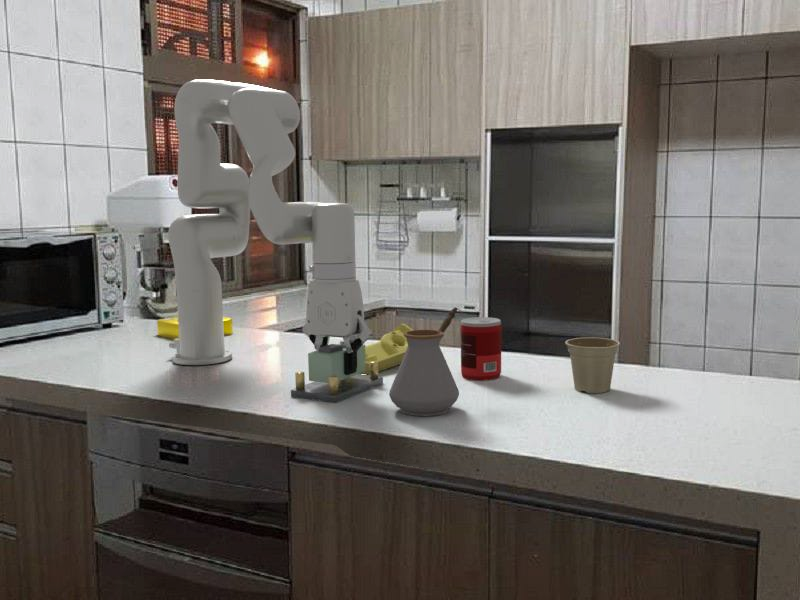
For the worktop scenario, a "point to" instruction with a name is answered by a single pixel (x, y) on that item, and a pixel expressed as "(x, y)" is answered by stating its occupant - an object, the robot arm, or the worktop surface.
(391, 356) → the plastic component
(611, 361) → the flower pot
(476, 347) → the canned food
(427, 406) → the coffee pot
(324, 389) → the chassis
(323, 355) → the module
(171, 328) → the element tile
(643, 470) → the worktop surface
